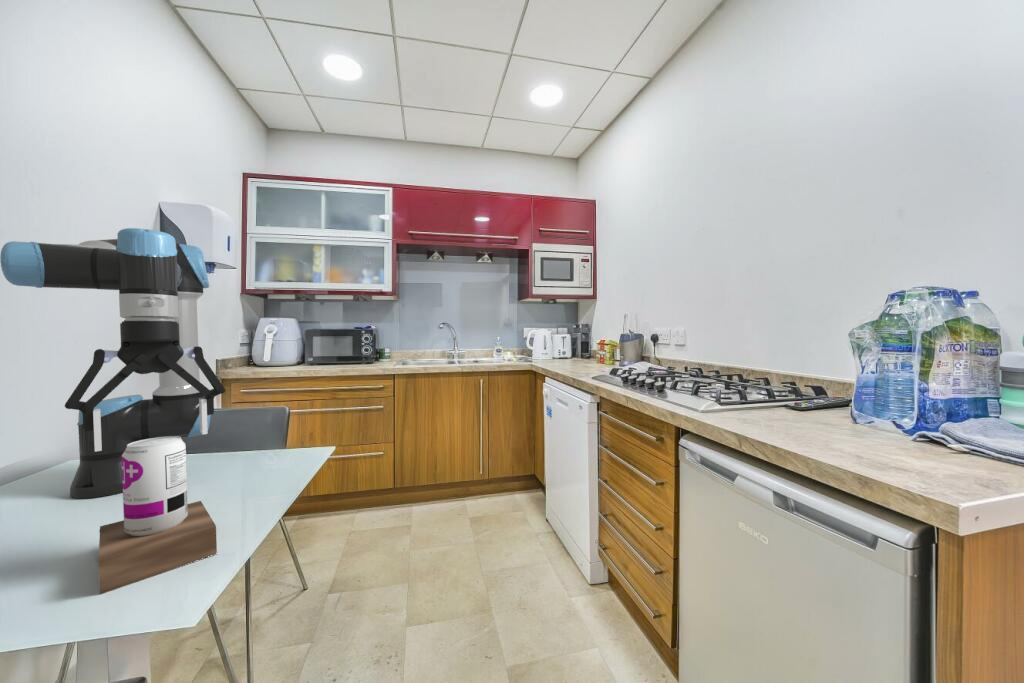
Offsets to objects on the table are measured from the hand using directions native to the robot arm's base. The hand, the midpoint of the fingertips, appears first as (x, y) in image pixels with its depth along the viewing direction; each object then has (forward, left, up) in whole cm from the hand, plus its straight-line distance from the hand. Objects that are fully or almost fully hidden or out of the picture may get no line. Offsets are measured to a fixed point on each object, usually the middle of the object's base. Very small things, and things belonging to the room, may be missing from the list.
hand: (154, 440), depth 68 cm
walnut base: (0, 0, -20) cm, 20 cm away
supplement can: (0, 0, -15) cm, 15 cm away
